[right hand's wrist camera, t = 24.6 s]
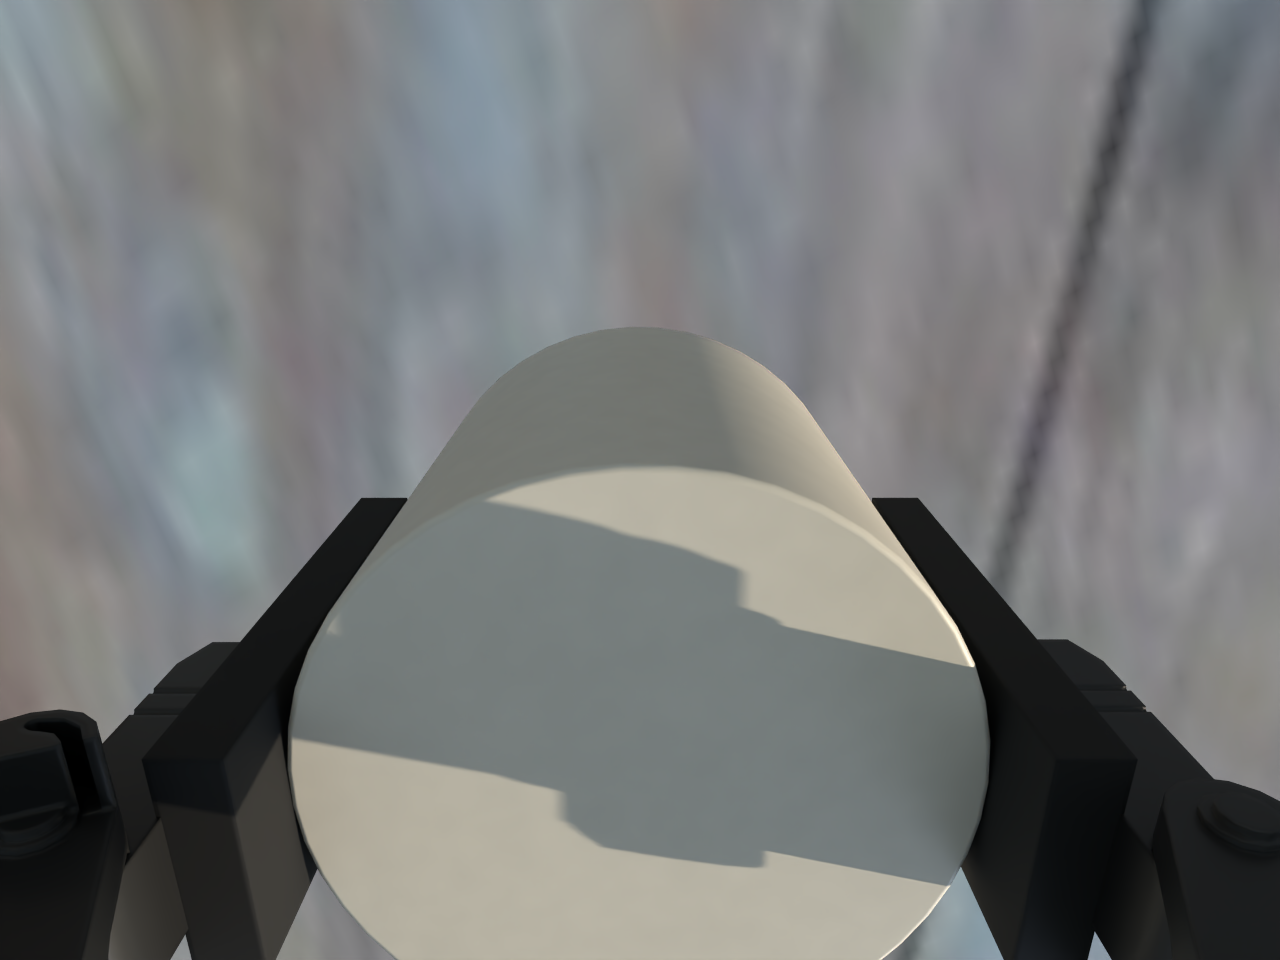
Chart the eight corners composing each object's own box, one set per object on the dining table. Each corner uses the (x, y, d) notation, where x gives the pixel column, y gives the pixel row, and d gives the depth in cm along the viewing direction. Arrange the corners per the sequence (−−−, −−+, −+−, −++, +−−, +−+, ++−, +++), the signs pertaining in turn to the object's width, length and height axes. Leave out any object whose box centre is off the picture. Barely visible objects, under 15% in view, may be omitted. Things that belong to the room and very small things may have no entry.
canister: (650, 760, 18) (656, 1128, 11) (357, 537, 16) (146, 812, 9) (924, 516, 16) (1138, 778, 9) (625, 232, 14) (613, 291, 7)
